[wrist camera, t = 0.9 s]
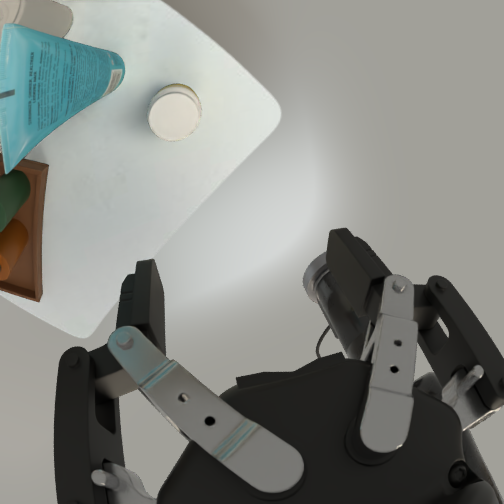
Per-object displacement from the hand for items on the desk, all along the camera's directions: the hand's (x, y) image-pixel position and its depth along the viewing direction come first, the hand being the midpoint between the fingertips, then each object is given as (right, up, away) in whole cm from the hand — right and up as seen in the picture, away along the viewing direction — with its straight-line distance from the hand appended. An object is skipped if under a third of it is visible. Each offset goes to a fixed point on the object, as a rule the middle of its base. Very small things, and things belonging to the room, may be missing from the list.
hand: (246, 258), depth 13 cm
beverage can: (-20, +24, +4) cm, 31 cm away
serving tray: (-31, +3, +16) cm, 36 cm away
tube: (-15, +18, +9) cm, 26 cm away
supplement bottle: (-8, +16, +14) cm, 22 cm away
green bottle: (-28, +8, +12) cm, 32 cm away
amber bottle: (-31, +3, +16) cm, 35 cm away
